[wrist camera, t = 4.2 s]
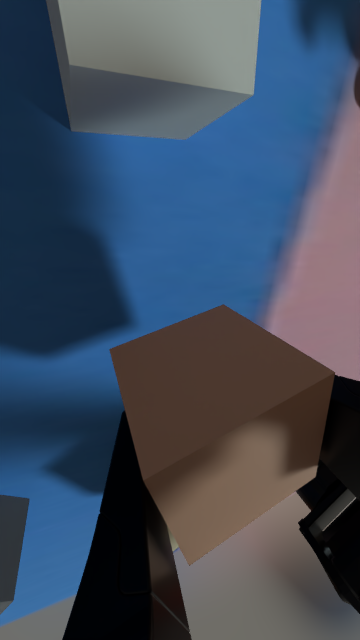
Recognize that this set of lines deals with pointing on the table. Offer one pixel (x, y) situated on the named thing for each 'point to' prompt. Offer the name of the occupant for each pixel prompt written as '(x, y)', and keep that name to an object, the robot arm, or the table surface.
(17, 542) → the charcoal block
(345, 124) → the table surface
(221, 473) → the brown block
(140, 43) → the off-white block
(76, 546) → the table surface
